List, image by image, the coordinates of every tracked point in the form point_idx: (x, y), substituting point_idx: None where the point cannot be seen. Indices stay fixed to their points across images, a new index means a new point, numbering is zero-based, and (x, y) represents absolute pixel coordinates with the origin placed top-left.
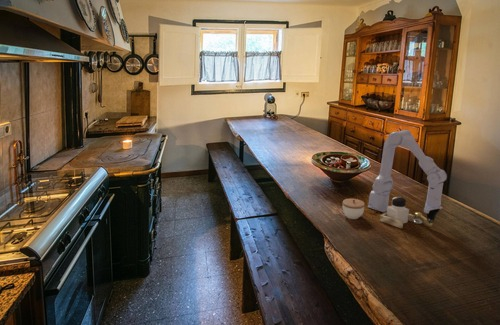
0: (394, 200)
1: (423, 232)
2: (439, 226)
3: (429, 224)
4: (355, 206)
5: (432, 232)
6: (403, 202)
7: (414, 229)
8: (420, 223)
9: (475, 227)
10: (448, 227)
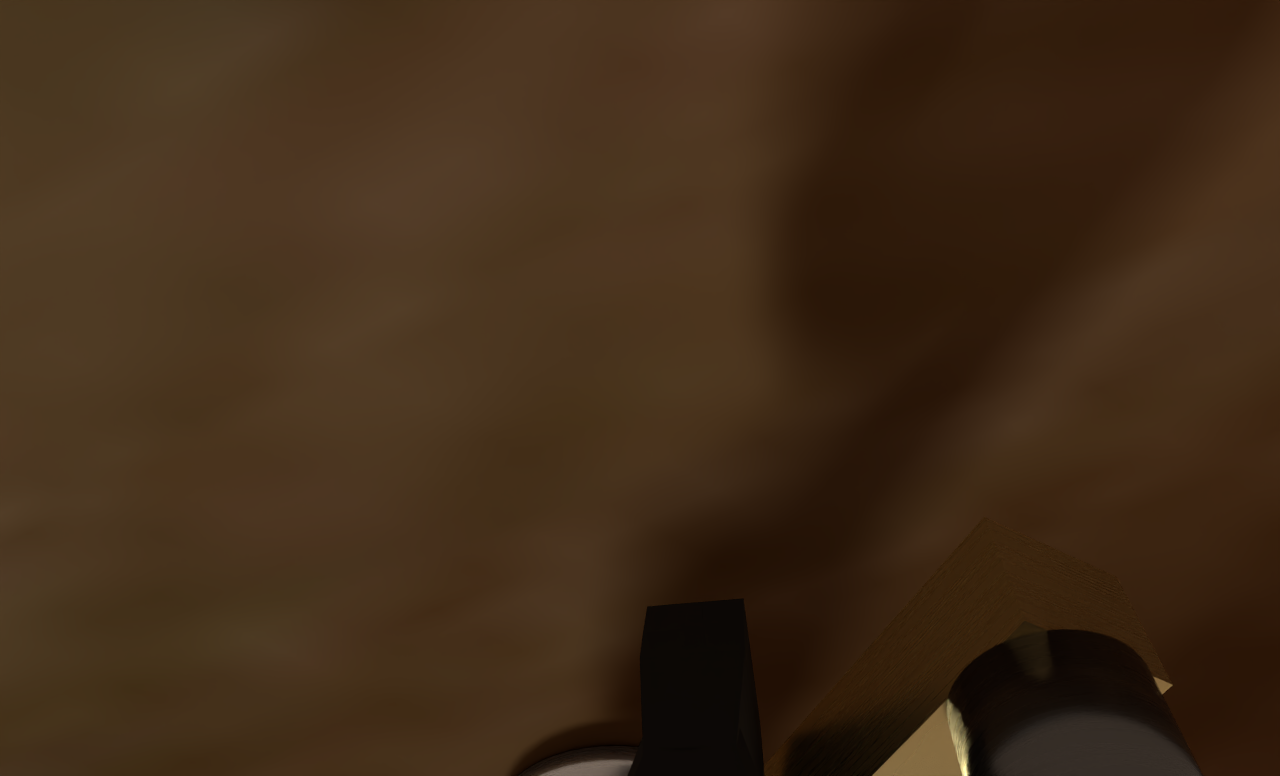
0: None
1: (1234, 463)
2: (291, 387)
3: (1123, 615)
4: None
5: (996, 295)
6: None
7: (1197, 686)
8: None
9: None
10: (28, 161)
